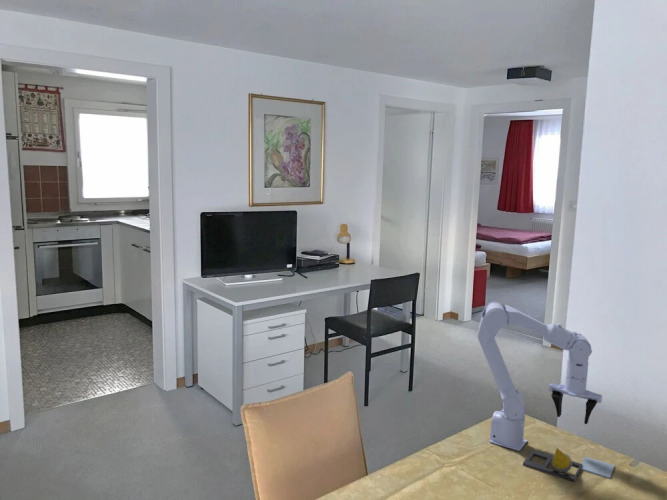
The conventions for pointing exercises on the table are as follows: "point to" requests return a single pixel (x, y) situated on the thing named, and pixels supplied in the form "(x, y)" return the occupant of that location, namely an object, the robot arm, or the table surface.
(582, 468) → the mat
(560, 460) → the yellow cone
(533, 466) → the rectangular frame
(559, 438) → the table surface
